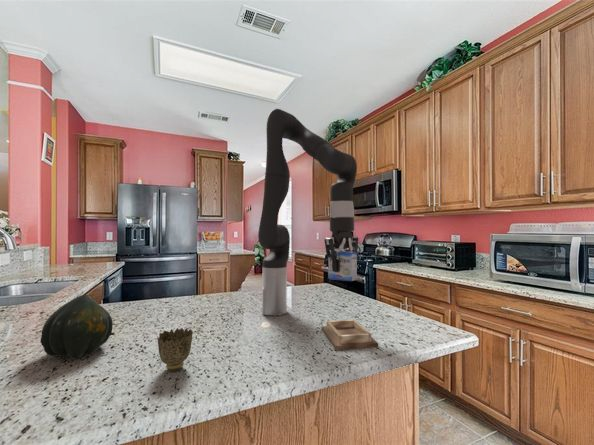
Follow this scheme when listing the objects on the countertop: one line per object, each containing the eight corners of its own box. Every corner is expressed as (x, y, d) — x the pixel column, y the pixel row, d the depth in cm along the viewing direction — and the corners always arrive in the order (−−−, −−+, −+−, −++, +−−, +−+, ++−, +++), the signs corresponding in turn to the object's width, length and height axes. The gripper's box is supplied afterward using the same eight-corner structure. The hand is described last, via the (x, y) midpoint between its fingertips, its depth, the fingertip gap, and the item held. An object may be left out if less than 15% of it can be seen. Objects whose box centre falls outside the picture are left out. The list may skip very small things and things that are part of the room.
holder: (335, 350, 74) (335, 338, 74) (321, 329, 89) (321, 320, 89) (378, 346, 76) (378, 335, 76) (357, 327, 91) (357, 318, 91)
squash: (38, 351, 61) (91, 290, 70) (16, 339, 69) (66, 286, 78) (94, 374, 69) (135, 317, 78) (69, 361, 77) (108, 311, 86)
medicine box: (328, 279, 88) (327, 251, 88) (333, 277, 92) (333, 250, 92) (352, 281, 84) (352, 252, 84) (357, 279, 88) (356, 251, 88)
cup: (164, 361, 68) (164, 327, 68) (196, 360, 69) (196, 327, 69) (151, 377, 61) (151, 340, 61) (186, 376, 61) (187, 339, 61)
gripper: (346, 217, 96) (347, 267, 96) (317, 216, 86) (317, 271, 86) (365, 216, 90) (366, 269, 90) (335, 215, 81) (336, 274, 80)
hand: (342, 270), depth 88 cm, fingers closed on medicine box, 5 cm apart
